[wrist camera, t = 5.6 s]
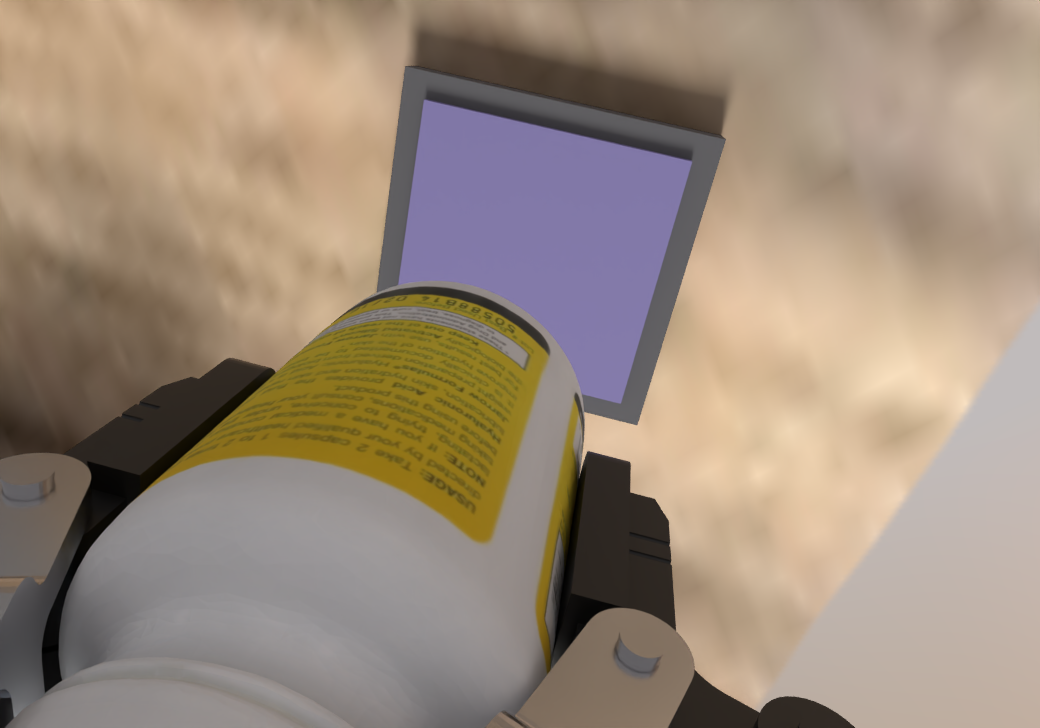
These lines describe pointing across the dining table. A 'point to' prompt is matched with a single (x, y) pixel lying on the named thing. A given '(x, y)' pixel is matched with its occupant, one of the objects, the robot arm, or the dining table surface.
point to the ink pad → (550, 218)
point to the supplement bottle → (345, 538)
